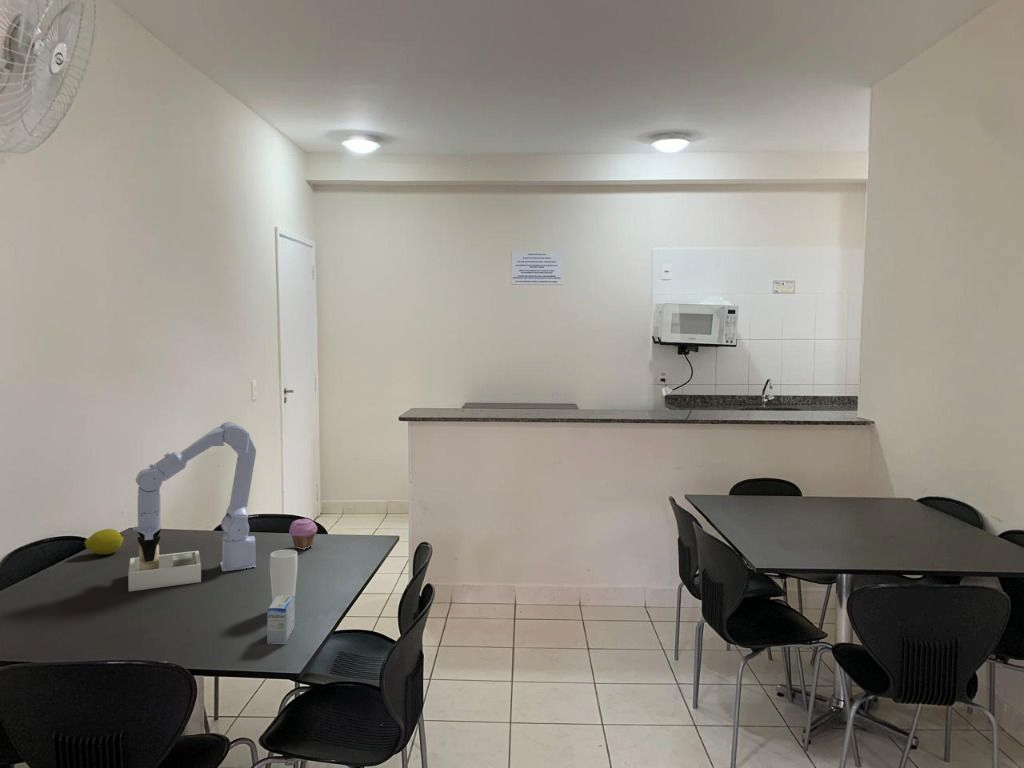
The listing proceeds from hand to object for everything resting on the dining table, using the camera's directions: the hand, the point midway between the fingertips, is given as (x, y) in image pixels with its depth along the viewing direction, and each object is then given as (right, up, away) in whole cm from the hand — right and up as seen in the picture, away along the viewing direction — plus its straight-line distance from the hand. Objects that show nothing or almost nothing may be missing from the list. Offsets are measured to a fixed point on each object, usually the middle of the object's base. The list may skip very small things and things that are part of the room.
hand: (149, 558), depth 190 cm
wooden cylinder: (0, -4, 0) cm, 4 cm away
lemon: (-26, -5, +22) cm, 34 cm away
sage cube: (+7, -6, +4) cm, 10 cm away
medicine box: (+49, -10, -33) cm, 60 cm away
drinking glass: (+45, -9, -18) cm, 49 cm away
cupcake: (+34, -6, +33) cm, 47 cm away
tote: (+3, -7, +2) cm, 8 cm away
